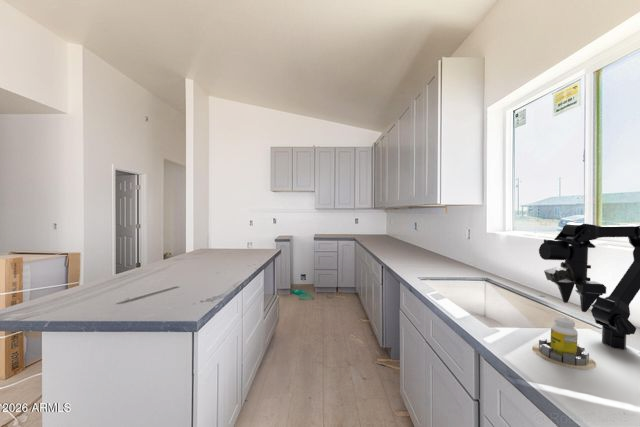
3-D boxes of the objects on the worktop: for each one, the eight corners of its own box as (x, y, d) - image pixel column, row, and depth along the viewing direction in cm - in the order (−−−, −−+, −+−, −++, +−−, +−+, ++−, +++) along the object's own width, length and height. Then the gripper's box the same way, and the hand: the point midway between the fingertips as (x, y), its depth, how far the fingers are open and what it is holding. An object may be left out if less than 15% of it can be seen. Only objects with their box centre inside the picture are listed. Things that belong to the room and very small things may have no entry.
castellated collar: (535, 343, 97) (535, 334, 97) (579, 351, 92) (580, 342, 92) (544, 359, 86) (544, 349, 86) (594, 369, 82) (595, 359, 81)
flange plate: (527, 343, 99) (527, 340, 99) (584, 353, 93) (585, 350, 93) (538, 364, 86) (538, 361, 86) (606, 378, 79) (606, 374, 79)
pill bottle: (545, 349, 93) (547, 315, 92) (568, 352, 91) (569, 317, 91) (557, 359, 87) (558, 322, 86) (581, 362, 85) (583, 324, 85)
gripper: (534, 255, 108) (532, 296, 109) (566, 264, 90) (564, 314, 90) (568, 256, 106) (566, 299, 107) (608, 266, 88) (606, 318, 88)
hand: (574, 307), depth 98 cm, fingers open, 9 cm apart
